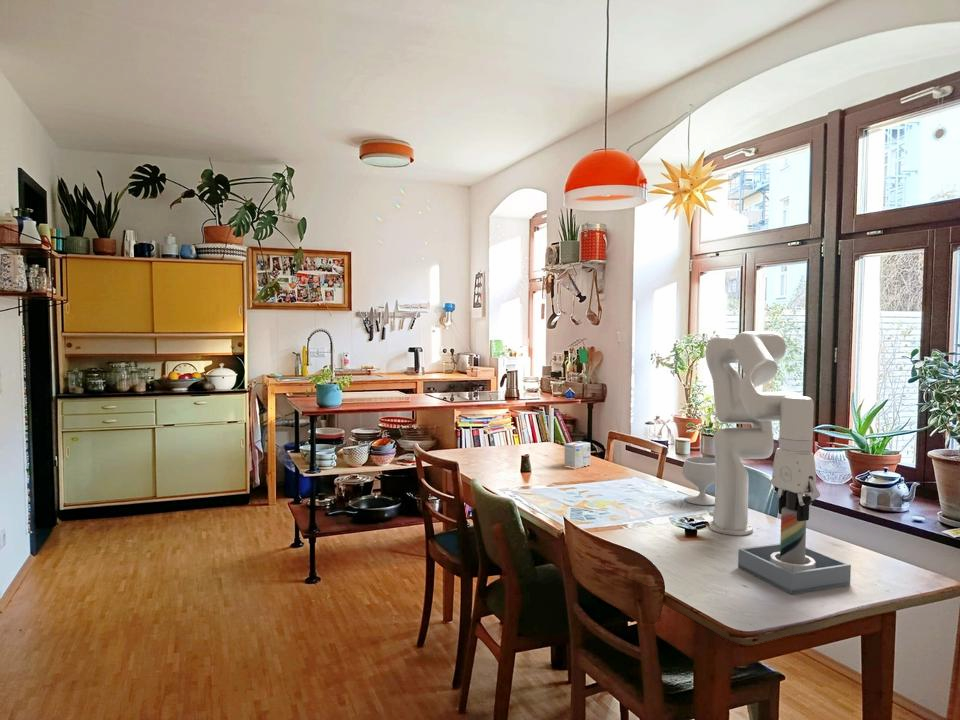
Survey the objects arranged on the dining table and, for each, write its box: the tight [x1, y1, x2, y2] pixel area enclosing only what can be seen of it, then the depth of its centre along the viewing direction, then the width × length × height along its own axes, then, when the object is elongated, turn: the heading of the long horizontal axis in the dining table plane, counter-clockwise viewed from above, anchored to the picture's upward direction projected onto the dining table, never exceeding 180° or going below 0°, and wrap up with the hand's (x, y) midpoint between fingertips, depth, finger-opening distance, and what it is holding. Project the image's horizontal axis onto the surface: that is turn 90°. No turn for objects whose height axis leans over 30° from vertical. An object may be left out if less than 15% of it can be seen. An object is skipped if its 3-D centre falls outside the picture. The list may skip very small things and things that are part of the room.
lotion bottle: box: [779, 491, 807, 565], centre depth 163 cm, size 6×6×20 cm
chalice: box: [681, 456, 716, 506], centre depth 233 cm, size 14×14×15 cm
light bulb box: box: [563, 440, 591, 468], centre depth 290 cm, size 11×7×11 cm, turn 129°
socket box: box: [737, 543, 852, 596], centre depth 163 cm, size 18×18×5 cm
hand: (793, 516), depth 163 cm, fingers closed on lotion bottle, 5 cm apart
